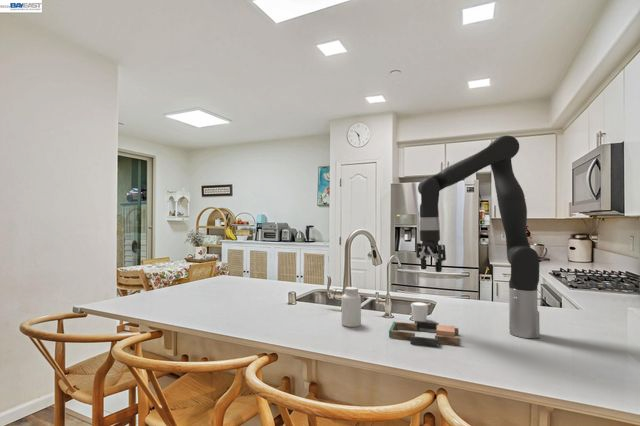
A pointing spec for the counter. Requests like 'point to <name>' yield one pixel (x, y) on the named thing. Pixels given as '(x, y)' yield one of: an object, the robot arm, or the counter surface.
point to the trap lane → (422, 327)
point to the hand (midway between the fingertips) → (430, 270)
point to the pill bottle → (351, 307)
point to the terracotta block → (445, 330)
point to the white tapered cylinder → (419, 311)
